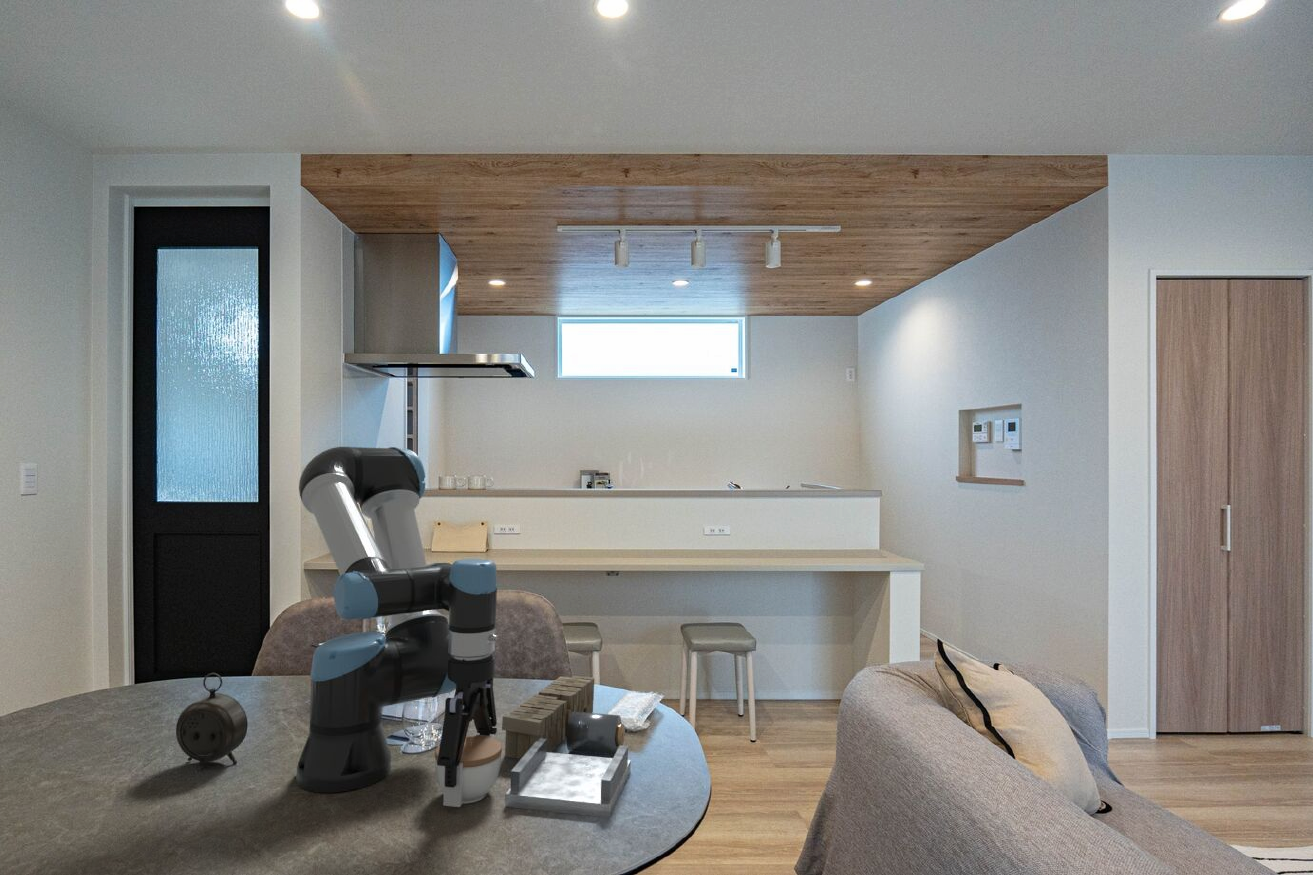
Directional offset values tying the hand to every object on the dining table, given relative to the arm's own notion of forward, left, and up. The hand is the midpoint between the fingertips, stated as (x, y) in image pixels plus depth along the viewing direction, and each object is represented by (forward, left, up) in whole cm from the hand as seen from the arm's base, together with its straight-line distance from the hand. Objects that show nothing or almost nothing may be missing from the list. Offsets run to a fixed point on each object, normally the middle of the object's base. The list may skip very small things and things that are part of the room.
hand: (467, 788), depth 119 cm
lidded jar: (0, 0, -1) cm, 1 cm away
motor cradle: (+16, +11, -1) cm, 20 cm away
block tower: (+5, +29, -2) cm, 29 cm away
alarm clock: (-49, +1, -1) cm, 49 cm away
